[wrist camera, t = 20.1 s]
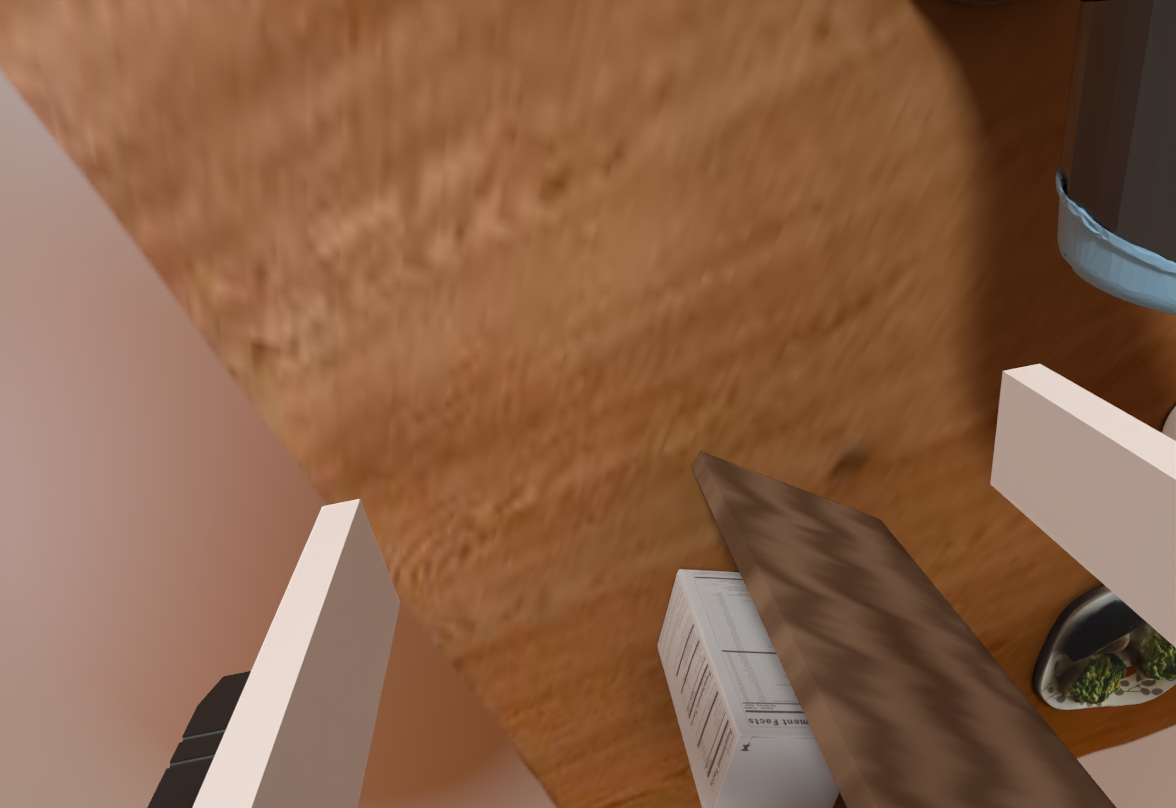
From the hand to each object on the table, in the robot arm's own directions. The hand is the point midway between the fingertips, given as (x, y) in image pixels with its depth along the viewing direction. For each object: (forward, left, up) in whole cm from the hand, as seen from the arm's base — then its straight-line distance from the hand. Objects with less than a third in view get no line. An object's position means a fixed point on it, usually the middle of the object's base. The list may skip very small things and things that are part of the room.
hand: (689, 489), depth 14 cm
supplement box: (-7, +38, -35) cm, 52 cm away
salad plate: (-46, +52, -35) cm, 78 cm away
